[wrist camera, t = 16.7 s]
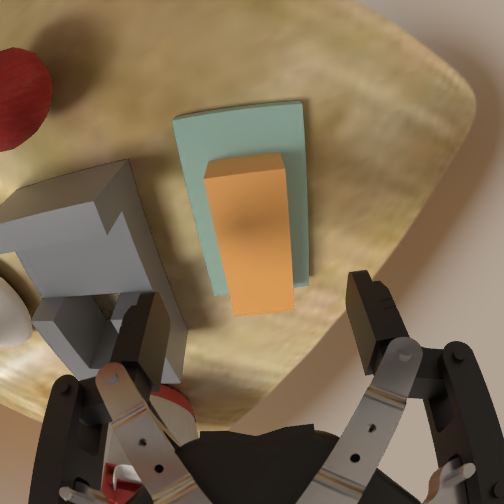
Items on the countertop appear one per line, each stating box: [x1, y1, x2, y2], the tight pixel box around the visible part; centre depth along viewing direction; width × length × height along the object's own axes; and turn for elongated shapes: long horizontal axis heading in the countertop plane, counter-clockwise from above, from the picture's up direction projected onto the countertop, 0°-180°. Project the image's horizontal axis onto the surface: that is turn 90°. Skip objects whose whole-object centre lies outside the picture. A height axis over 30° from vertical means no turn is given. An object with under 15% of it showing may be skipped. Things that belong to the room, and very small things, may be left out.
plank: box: [204, 152, 294, 317], centre depth 19 cm, size 10×4×2 cm, turn 7°
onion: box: [0, 47, 52, 152], centre depth 11 cm, size 6×6×8 cm
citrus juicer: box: [101, 384, 199, 504], centre depth 28 cm, size 16×17×20 cm
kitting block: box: [0, 159, 188, 383], centre depth 21 cm, size 16×10×6 cm, turn 7°
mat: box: [172, 101, 309, 296], centre depth 20 cm, size 13×7×1 cm, turn 7°
